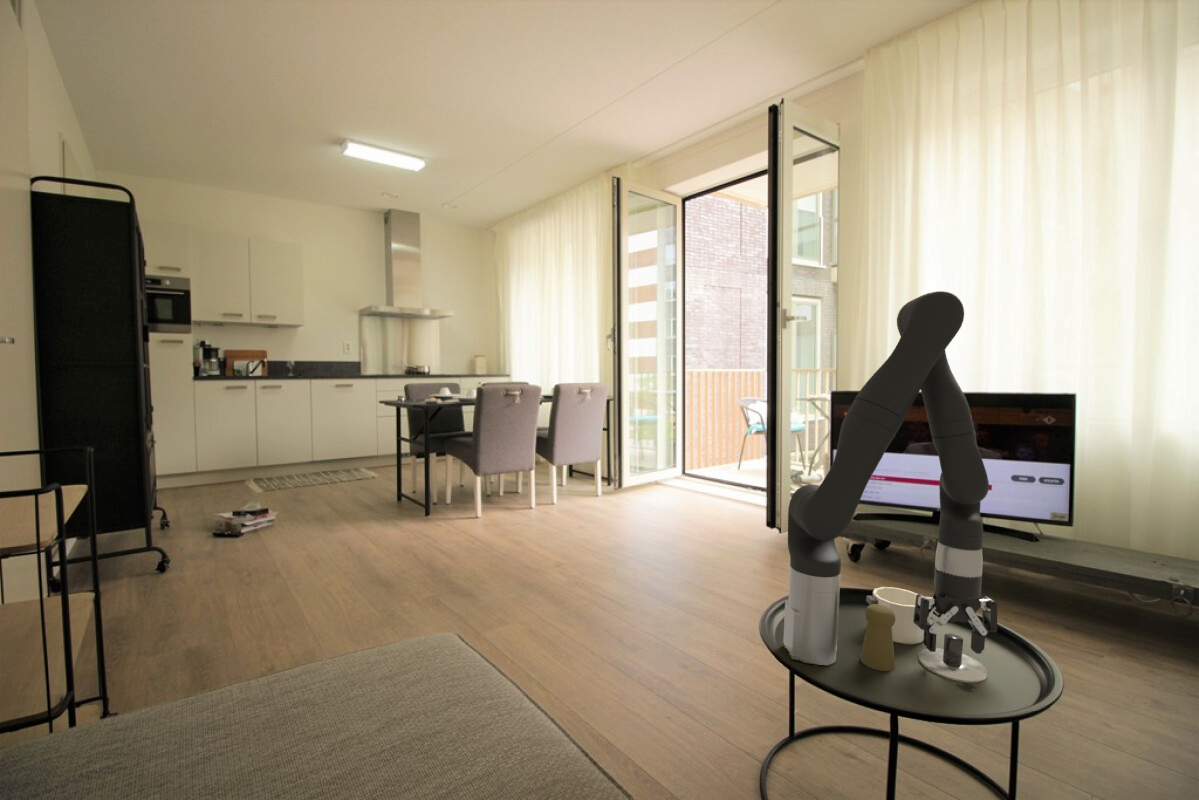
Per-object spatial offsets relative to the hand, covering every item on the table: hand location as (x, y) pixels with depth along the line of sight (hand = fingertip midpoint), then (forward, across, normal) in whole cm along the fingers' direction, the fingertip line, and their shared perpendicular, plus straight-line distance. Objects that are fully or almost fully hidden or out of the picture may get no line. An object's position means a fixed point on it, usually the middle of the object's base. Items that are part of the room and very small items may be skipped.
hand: (953, 650), depth 106 cm
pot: (+3, +4, -13) cm, 14 cm away
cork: (+3, +14, 0) cm, 14 cm away
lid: (+3, 0, 0) cm, 3 cm away
